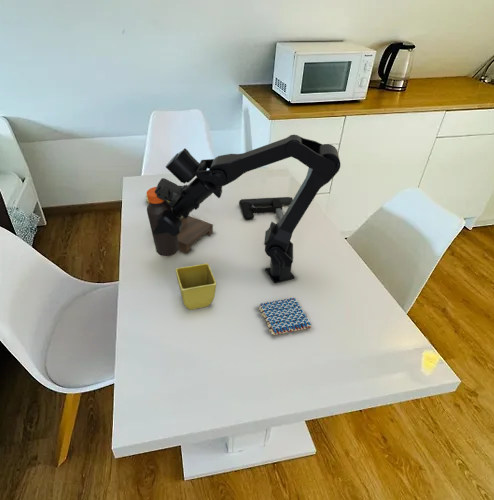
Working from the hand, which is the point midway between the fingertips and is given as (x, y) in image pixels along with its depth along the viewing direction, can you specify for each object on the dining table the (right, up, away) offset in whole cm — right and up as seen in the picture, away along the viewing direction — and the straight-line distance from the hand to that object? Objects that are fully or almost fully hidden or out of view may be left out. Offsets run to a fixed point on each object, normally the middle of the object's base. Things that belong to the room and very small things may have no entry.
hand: (157, 226), depth 108 cm
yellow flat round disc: (-5, +12, +38) cm, 40 cm away
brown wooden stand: (+6, -2, +18) cm, 19 cm away
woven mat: (+34, -24, -11) cm, 43 cm away
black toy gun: (+35, +6, +32) cm, 48 cm away
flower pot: (+11, -20, -7) cm, 24 cm away
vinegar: (+2, -7, +6) cm, 9 cm away
